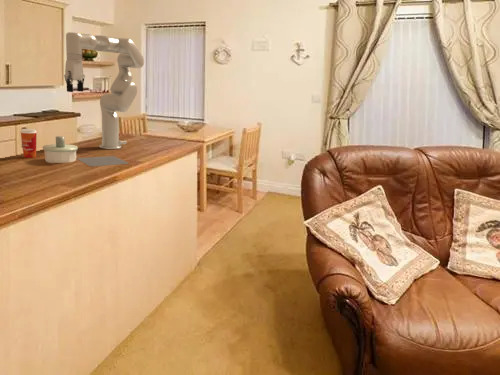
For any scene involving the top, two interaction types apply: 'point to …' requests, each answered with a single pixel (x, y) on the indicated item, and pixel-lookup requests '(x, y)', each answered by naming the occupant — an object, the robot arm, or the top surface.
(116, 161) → the mat
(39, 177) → the top surface
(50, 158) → the bowl
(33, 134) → the paper cup
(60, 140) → the lid
